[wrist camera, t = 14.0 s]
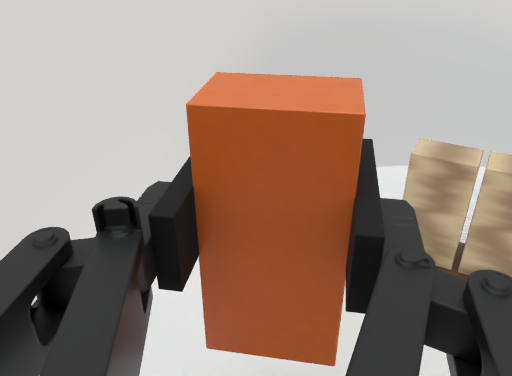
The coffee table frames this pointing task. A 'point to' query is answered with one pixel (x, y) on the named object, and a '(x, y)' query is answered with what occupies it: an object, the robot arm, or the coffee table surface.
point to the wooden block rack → (461, 207)
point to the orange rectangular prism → (275, 209)
